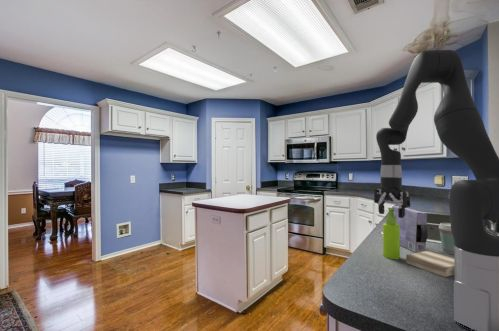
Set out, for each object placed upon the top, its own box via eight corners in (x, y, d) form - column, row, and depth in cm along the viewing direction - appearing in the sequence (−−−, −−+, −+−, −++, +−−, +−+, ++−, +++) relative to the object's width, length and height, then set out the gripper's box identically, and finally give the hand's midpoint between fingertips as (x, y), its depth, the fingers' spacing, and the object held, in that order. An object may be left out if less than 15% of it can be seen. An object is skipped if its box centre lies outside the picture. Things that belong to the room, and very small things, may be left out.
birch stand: (444, 276, 79) (444, 267, 80) (406, 262, 92) (406, 254, 92) (467, 270, 84) (467, 262, 84) (428, 258, 96) (427, 250, 96)
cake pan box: (429, 254, 101) (428, 212, 101) (417, 254, 101) (416, 212, 101) (400, 241, 120) (400, 205, 120) (390, 240, 120) (390, 205, 120)
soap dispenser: (383, 258, 96) (383, 208, 96) (382, 253, 102) (382, 206, 103) (400, 261, 93) (400, 209, 94) (399, 255, 99) (398, 207, 100)
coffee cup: (461, 251, 105) (461, 224, 105) (467, 257, 97) (466, 228, 98) (437, 248, 109) (436, 221, 109) (440, 253, 102) (440, 225, 102)
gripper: (369, 175, 103) (369, 213, 103) (401, 176, 90) (401, 219, 90) (382, 175, 106) (382, 212, 106) (414, 176, 93) (414, 218, 93)
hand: (391, 215), depth 98 cm, fingers open, 8 cm apart
